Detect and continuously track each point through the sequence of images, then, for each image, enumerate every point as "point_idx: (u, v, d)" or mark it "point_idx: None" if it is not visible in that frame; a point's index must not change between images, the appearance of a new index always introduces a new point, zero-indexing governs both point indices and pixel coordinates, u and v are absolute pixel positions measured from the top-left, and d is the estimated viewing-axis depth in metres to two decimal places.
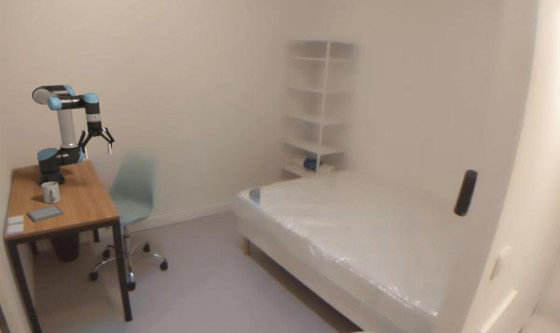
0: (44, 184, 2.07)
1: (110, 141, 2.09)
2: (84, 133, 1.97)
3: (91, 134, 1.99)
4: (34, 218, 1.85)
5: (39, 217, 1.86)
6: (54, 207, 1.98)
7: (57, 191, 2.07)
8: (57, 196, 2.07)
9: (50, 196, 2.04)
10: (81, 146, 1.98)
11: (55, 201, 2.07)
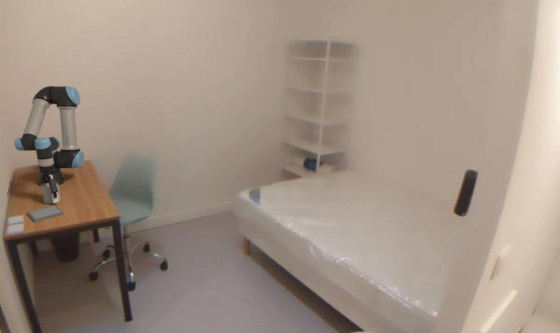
0: (44, 184, 2.07)
1: (51, 190, 2.00)
2: (42, 173, 2.06)
3: (43, 176, 2.03)
4: (34, 218, 1.85)
5: (39, 217, 1.86)
6: (54, 207, 1.98)
7: None
8: None
9: (50, 196, 2.04)
10: None
11: None
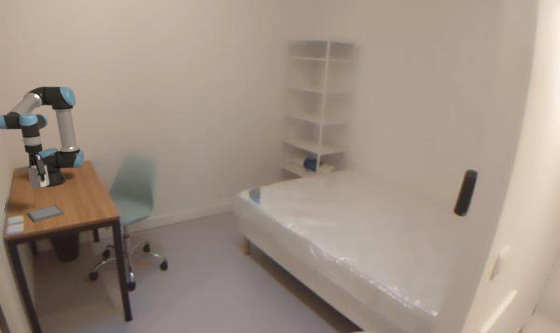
0: (31, 166, 1.87)
1: (38, 172, 1.79)
2: None
3: (30, 157, 1.83)
4: (34, 218, 1.85)
5: (39, 217, 1.86)
6: (54, 207, 1.98)
7: (45, 174, 1.87)
8: None
9: (37, 179, 1.84)
10: None
11: None
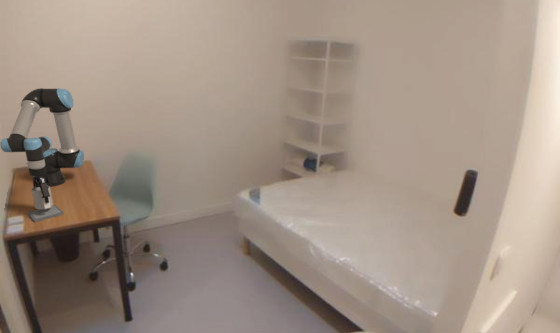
0: (35, 188, 1.90)
1: (43, 195, 1.83)
2: (33, 176, 1.89)
3: (34, 179, 1.87)
4: (34, 218, 1.85)
5: (39, 217, 1.86)
6: (54, 207, 1.98)
7: None
8: None
9: (41, 201, 1.88)
10: None
11: None
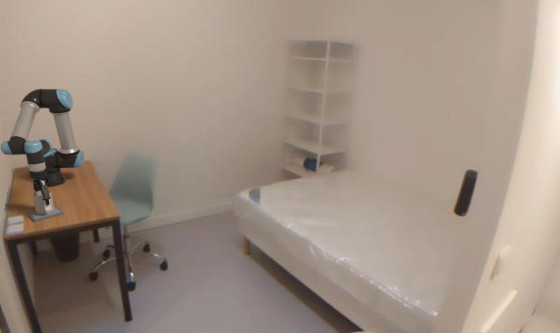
0: (36, 193, 1.91)
1: (43, 197, 1.83)
2: (33, 178, 1.90)
3: (34, 182, 1.88)
4: (34, 218, 1.85)
5: (39, 217, 1.86)
6: (54, 207, 1.98)
7: (50, 200, 1.91)
8: None
9: (42, 206, 1.89)
10: (35, 189, 1.94)
11: (48, 211, 1.91)
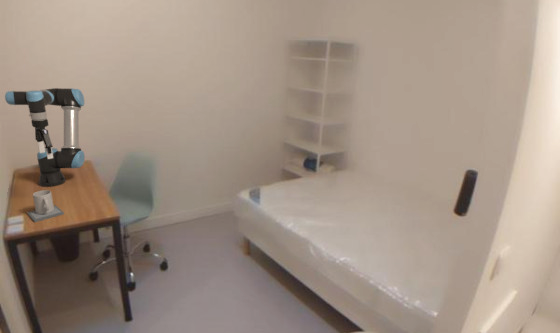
0: (36, 193, 1.91)
1: (45, 145, 1.91)
2: (35, 128, 1.97)
3: (36, 131, 1.95)
4: (34, 218, 1.85)
5: (39, 217, 1.86)
6: (54, 207, 1.98)
7: (50, 200, 1.91)
8: (50, 206, 1.92)
9: (42, 206, 1.89)
10: (37, 139, 2.02)
11: (48, 211, 1.91)
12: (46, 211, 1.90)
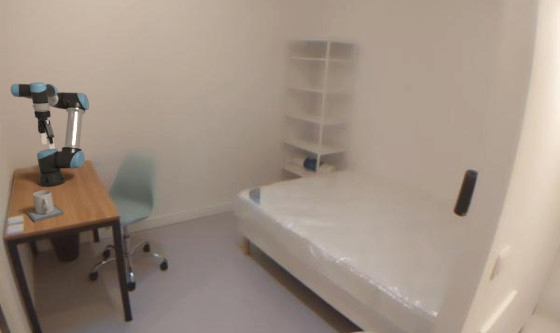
0: (36, 193, 1.91)
1: (47, 135, 1.96)
2: (38, 120, 2.03)
3: (39, 122, 2.00)
4: (34, 218, 1.85)
5: (39, 217, 1.86)
6: (54, 207, 1.98)
7: (50, 200, 1.91)
8: (50, 206, 1.92)
9: (42, 206, 1.89)
10: None
11: (48, 211, 1.91)
12: (46, 211, 1.90)
